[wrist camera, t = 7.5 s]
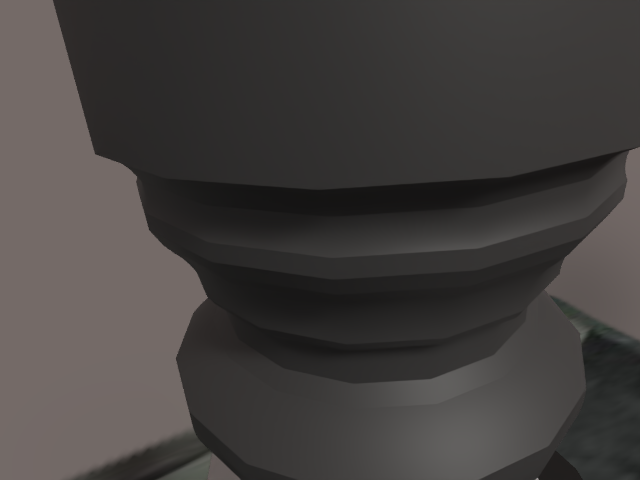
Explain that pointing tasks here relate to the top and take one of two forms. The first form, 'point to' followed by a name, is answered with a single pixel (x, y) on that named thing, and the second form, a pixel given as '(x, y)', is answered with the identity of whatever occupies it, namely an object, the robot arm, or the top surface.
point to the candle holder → (370, 214)
